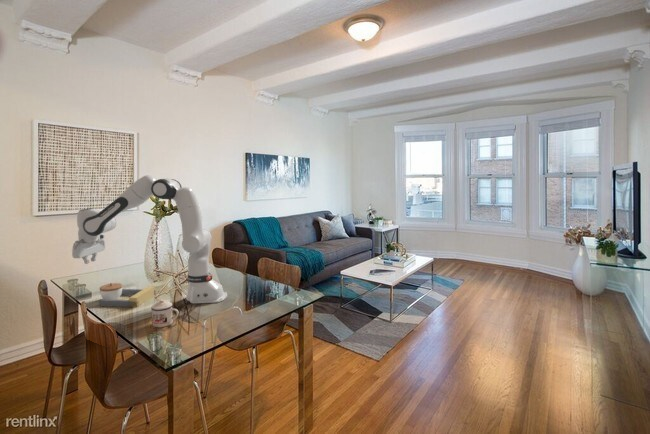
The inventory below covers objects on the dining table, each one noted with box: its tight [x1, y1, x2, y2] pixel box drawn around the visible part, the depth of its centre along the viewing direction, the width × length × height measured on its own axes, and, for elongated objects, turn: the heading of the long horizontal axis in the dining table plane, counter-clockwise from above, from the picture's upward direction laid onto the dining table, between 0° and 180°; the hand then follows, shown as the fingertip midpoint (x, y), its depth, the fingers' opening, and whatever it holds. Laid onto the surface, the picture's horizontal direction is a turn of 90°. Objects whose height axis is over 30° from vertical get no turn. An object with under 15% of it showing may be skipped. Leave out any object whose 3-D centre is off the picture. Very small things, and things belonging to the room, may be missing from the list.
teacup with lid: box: [150, 299, 180, 328], centre depth 159 cm, size 12×9×12 cm
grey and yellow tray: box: [98, 285, 156, 308], centre depth 187 cm, size 21×18×5 cm
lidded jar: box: [99, 282, 123, 300], centre depth 188 cm, size 11×11×9 cm
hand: (90, 262), depth 186 cm, fingers open, 3 cm apart
